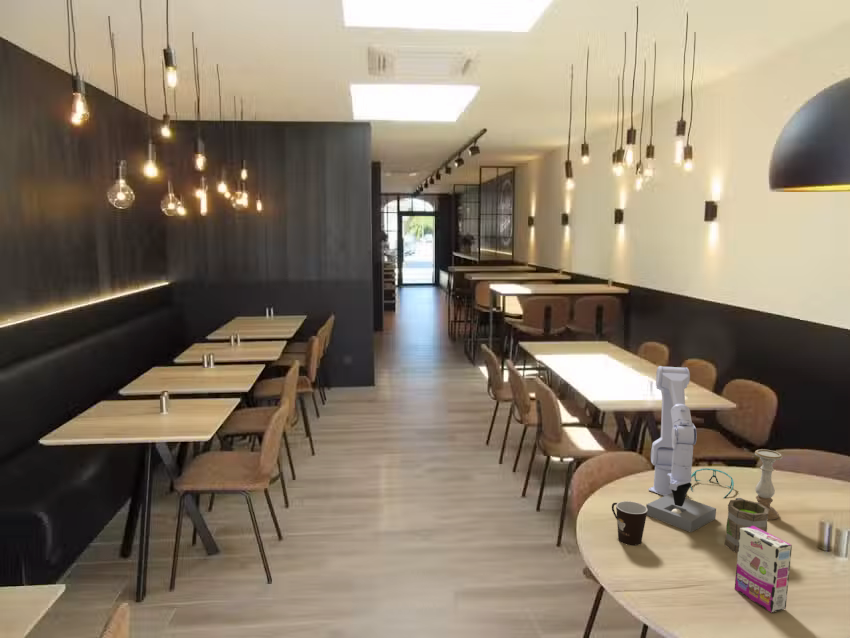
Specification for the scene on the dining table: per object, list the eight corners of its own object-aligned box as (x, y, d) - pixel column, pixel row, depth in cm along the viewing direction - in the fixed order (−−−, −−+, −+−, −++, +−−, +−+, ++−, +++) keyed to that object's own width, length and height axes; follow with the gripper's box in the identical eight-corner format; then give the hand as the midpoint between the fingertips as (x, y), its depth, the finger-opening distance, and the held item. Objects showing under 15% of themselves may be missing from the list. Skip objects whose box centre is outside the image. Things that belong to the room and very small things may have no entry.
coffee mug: (649, 547, 179) (651, 514, 178) (618, 547, 180) (621, 513, 178) (636, 528, 191) (638, 497, 190) (608, 528, 191) (609, 496, 190)
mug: (771, 558, 175) (775, 517, 173) (729, 554, 177) (733, 513, 175) (754, 532, 190) (757, 494, 188) (715, 528, 192) (718, 491, 190)
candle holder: (776, 522, 197) (782, 460, 194) (745, 514, 202) (750, 453, 199) (780, 513, 204) (786, 452, 201) (750, 505, 209) (755, 446, 206)
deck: (671, 502, 210) (671, 492, 210) (715, 519, 199) (716, 508, 198) (645, 514, 201) (646, 504, 200) (690, 532, 189) (691, 521, 189)
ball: (677, 524, 197) (667, 518, 198) (681, 514, 199) (670, 508, 200) (682, 520, 194) (671, 514, 195) (685, 511, 196) (675, 504, 197)
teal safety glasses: (735, 486, 226) (736, 473, 225) (729, 504, 214) (730, 491, 213) (693, 477, 233) (694, 464, 232) (685, 495, 221) (686, 481, 220)
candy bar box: (787, 609, 150) (793, 544, 148) (771, 614, 149) (777, 548, 146) (748, 585, 161) (753, 524, 159) (733, 589, 159) (738, 527, 157)
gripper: (676, 454, 204) (673, 494, 206) (660, 466, 193) (657, 508, 195) (699, 459, 200) (696, 500, 202) (684, 472, 189) (681, 515, 191)
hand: (678, 505), depth 198 cm, fingers closed
